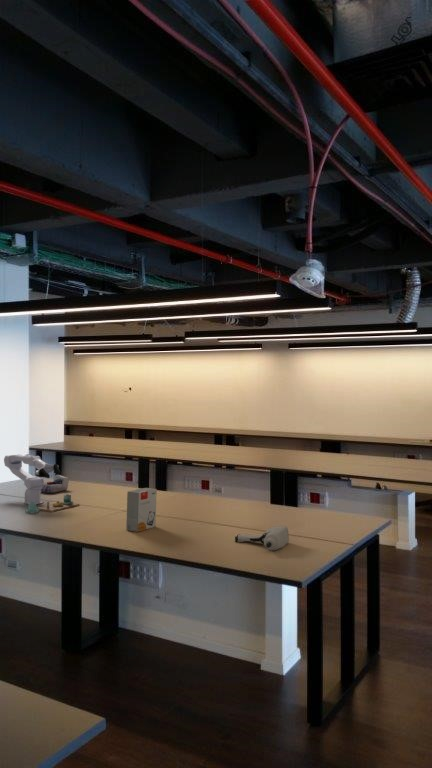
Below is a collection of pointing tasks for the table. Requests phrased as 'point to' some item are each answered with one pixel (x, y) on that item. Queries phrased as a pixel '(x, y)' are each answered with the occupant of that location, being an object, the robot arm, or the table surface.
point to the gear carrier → (59, 505)
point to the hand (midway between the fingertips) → (54, 474)
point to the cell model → (56, 485)
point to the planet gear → (32, 508)
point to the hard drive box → (141, 509)
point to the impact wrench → (268, 538)
